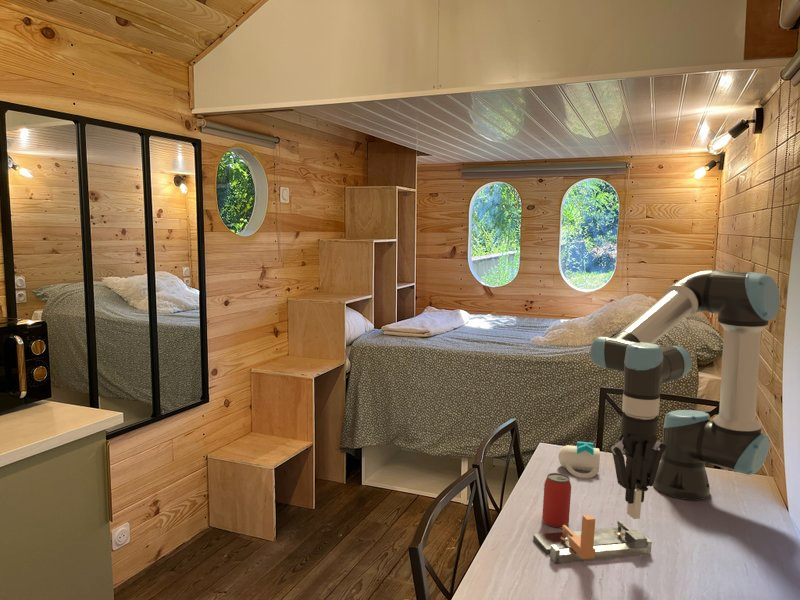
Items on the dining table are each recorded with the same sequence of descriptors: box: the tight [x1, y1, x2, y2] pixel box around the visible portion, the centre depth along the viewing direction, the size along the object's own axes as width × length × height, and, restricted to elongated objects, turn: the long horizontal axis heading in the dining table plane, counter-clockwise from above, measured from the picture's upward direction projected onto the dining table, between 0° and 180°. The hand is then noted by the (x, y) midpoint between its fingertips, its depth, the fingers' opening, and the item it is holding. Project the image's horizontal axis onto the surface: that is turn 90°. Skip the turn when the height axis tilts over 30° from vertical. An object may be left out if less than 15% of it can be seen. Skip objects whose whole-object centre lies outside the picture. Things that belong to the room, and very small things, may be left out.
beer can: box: [541, 472, 572, 528], centre depth 155 cm, size 7×7×12 cm
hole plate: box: [532, 526, 627, 555], centre depth 146 cm, size 24×7×1 cm, turn 103°
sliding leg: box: [561, 514, 596, 559], centre depth 139 cm, size 3×12×10 cm, turn 13°
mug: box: [558, 441, 601, 479], centre depth 189 cm, size 12×9×12 cm
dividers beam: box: [549, 519, 653, 565], centre depth 142 cm, size 24×9×4 cm, turn 103°
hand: (633, 515), depth 137 cm, fingers closed
